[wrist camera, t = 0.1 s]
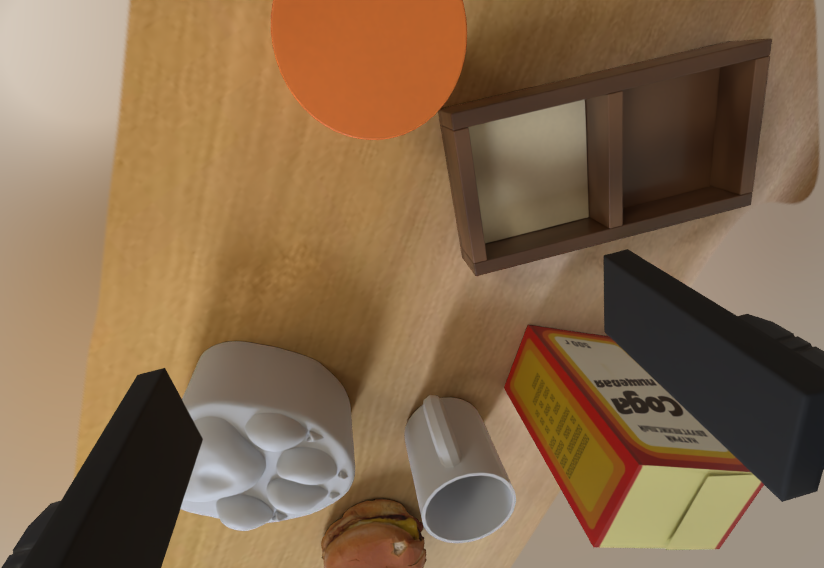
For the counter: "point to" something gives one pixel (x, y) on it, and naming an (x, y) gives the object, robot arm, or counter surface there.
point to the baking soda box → (625, 446)
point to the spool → (370, 60)
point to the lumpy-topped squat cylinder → (266, 436)
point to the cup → (457, 471)
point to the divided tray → (605, 154)
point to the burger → (374, 538)
